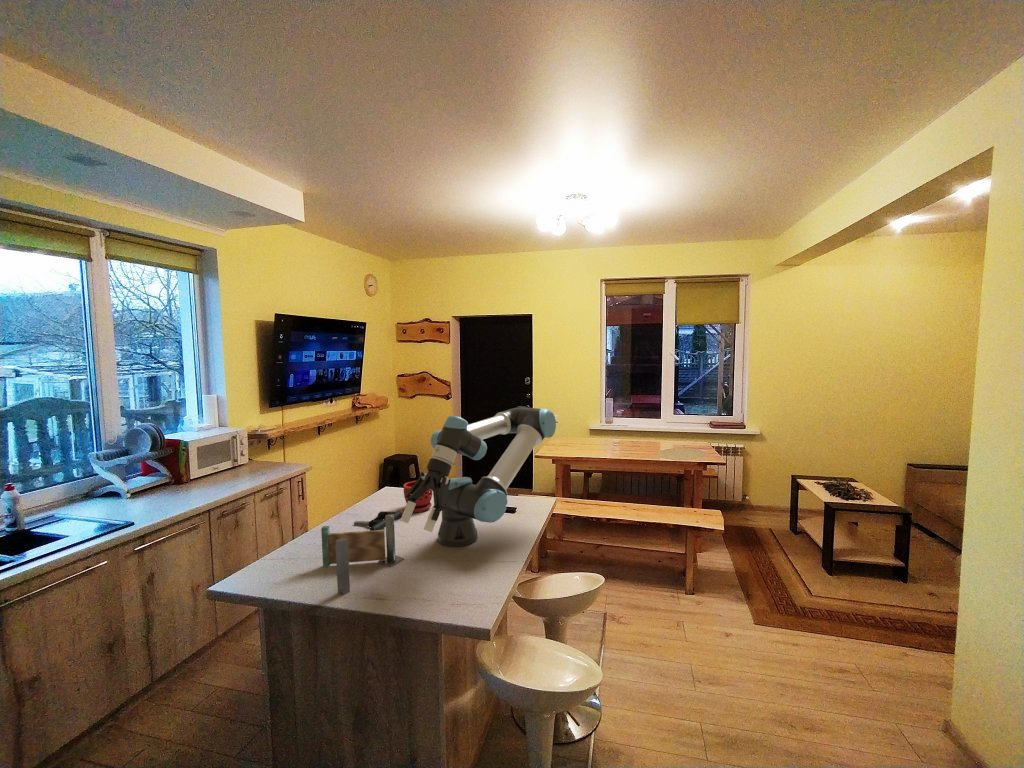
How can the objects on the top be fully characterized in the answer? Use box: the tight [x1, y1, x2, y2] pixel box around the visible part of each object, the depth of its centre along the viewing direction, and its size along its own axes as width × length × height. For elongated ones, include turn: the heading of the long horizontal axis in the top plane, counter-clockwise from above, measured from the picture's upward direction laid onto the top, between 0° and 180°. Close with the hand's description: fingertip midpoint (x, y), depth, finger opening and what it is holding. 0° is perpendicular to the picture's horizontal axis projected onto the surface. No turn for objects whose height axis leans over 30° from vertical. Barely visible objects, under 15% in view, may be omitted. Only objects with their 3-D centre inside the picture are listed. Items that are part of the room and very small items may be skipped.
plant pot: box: [403, 480, 433, 513], centre depth 199 cm, size 13×13×12 cm
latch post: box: [336, 538, 351, 596], centre depth 128 cm, size 2×2×16 cm
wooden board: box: [320, 525, 386, 567], centre depth 146 cm, size 20×2×13 cm, turn 98°
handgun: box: [353, 510, 403, 531], centre depth 183 cm, size 3×20×16 cm
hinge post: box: [377, 514, 405, 568], centre depth 147 cm, size 6×6×16 cm
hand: (415, 526), depth 133 cm, fingers open, 13 cm apart
